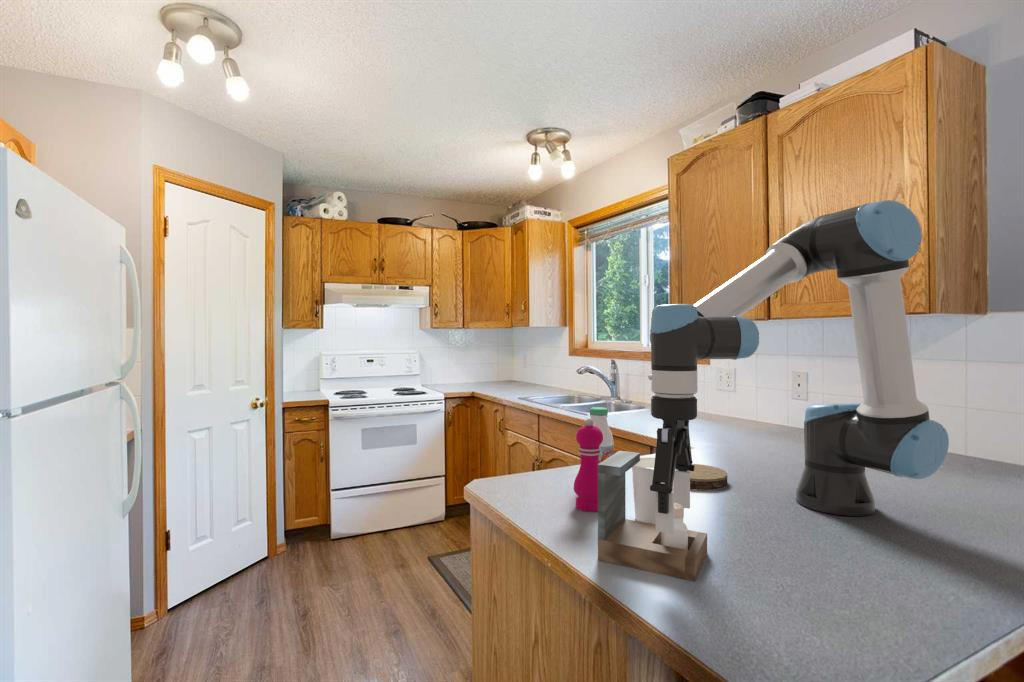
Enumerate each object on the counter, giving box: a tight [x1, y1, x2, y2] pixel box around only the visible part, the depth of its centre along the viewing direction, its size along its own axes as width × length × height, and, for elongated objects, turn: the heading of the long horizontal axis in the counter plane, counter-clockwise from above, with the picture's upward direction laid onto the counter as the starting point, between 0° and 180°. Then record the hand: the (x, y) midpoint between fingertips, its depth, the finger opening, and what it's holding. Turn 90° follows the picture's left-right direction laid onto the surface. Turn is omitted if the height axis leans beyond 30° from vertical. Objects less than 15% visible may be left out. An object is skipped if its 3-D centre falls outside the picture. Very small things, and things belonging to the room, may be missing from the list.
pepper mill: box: [573, 418, 603, 513], centre depth 115 cm, size 7×7×20 cm
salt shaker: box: [661, 503, 689, 550], centre depth 88 cm, size 4×4×10 cm
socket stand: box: [597, 450, 708, 582], centre depth 90 cm, size 16×12×16 cm
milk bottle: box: [589, 406, 615, 463], centre depth 132 cm, size 8×8×20 cm
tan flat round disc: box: [687, 463, 728, 491], centre depth 136 cm, size 16×16×3 cm
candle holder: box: [631, 457, 678, 524], centre depth 107 cm, size 10×10×12 cm
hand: (673, 518), depth 88 cm, fingers open, 13 cm apart
